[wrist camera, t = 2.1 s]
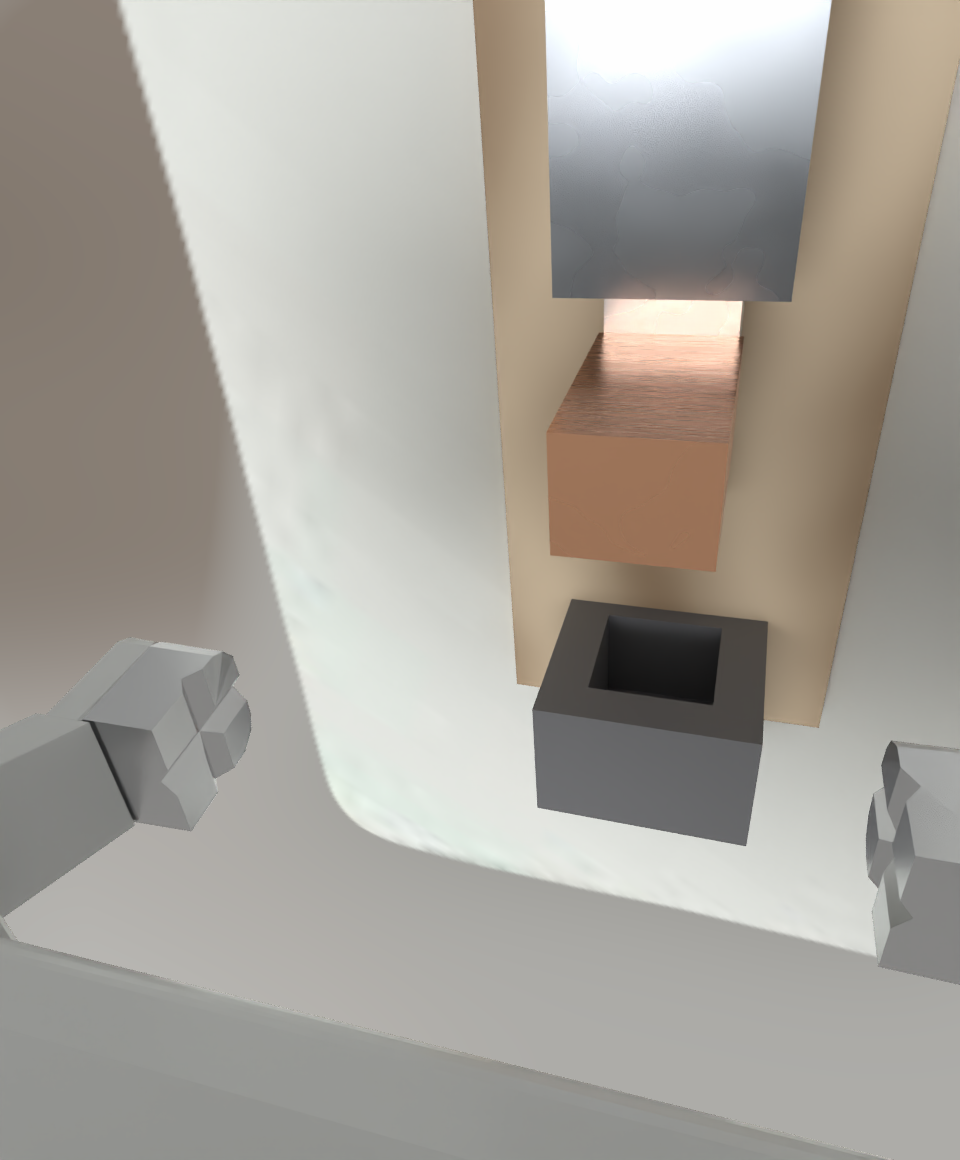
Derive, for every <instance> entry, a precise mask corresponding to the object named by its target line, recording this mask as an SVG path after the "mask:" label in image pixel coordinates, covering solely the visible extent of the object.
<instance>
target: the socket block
mask: <svg viewBox="0 0 960 1160" xmlns="http://www.w3.org/2000/svg"><path fill="white" fill-rule="evenodd" d="M767 634H768V622H767V621H759V620H750V619H741V618H733V617H724V616H715V615H707V614H698V613H689V612H681V611H672V610H663V609H655V608H646V607H637V606H628V605H620V604H611V603H602V602H594V601H585V600H576V599H571V602H570V605H569V607H568V610H567V613H566V616H565V619H564V622H563V624H562V627H561V630H560V633H559V636H558V639H557V642H556V644H555V647H554V650H553V653H552V656H551V659H550V661H549V664H548V667H547V670H546V673H545V676H544V678H543V681H542V684H541V687H540V690H539V693H538V695H537V698H536V701H535V704H534V707H533V710H532V711H533V730H534V749H535V768H536V787H537V806H538V808H543V809H548V810H554V811H559V812H564V813H570V814H575V815H581V816H586V817H591V818H597V819H602V820H608V821H613V822H618V823H624V824H629V825H634V826H640V827H645V828H651V829H656V830H661V831H667V832H672V833H678V834H683V835H688V836H694V837H699V838H704V839H710V840H715V841H721V842H726V843H731V844H737V845H742V846H746V843H747V837H748V831H749V825H750V819H751V812H752V806H753V800H754V794H755V788H756V781H757V775H758V769H759V763H760V757H761V751H762V743H763V721H764V699H765V677H766V656H767Z"/></svg>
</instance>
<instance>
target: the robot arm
mask: <svg viewBox="0 0 960 1160" xmlns="http://www.w3.org/2000/svg"><path fill="white" fill-rule="evenodd" d="M238 677H239V672H238V670H237V667H236V664H235V661H234V658H233V656H232V655H229V654H227V653H225V652H222V651H215V650H210V649H204V648H197V647H191V646H184V645H179V644H172V643H166V642H154V641H148V640H143V639H136V638H131V637H130V638H127V639H124V640H121V641H118V642H117V643H116V644H115V645H114V646H113V647H112V648H111V649H110V650H109V651H108V652H107V653H106V654H105V655H104V656H103V657H102V658H101V659H100V660H99V661H98V662H97V664H95V665H94V666H93V667H92V668H91V669H90V670H89V672H87V673H86V675H85V676H84V677H83V678H82V679H81V680H80V681H79V682H78V683H77V684H76V685H75V686H74V687H73V688H72V689H71V690H70V691H69V692H68V693H67V694H66V695H65V696H64V697H63V698H62V699H61V700H60V701H59V702H58V703H57V704H56V705H55V706H54V707H53V708H52V709H51V710H50V711H49V712H48V713H47V714H46V715H42V714H34V715H32V716H30V717H27V718H25V719H23V720H21V721H18V722H17V723H14V724H12V725H10V726H8V727H6V728H3V729H1V730H0V1160H892V1159H888V1158H884V1157H880V1156H876V1155H872V1154H868V1153H864V1152H860V1151H856V1150H852V1149H848V1148H844V1147H840V1146H836V1145H832V1144H828V1143H824V1142H820V1141H816V1140H812V1139H808V1138H804V1137H800V1136H796V1135H792V1134H788V1133H784V1132H780V1131H776V1130H772V1129H768V1128H764V1127H760V1126H756V1125H752V1124H748V1123H744V1122H740V1121H736V1120H732V1119H728V1118H724V1117H720V1116H716V1115H712V1114H708V1113H704V1112H700V1111H696V1110H692V1109H688V1108H684V1107H680V1106H676V1105H672V1104H668V1103H664V1102H660V1101H656V1100H652V1099H648V1098H644V1097H640V1096H636V1095H632V1094H627V1093H624V1092H620V1091H616V1090H612V1089H607V1088H604V1087H600V1086H596V1085H592V1084H588V1083H584V1082H580V1081H576V1080H572V1079H568V1078H564V1077H560V1076H556V1075H552V1074H548V1073H544V1072H540V1071H536V1070H532V1069H528V1068H524V1067H520V1066H516V1065H511V1064H508V1063H504V1062H500V1061H496V1060H492V1059H488V1058H483V1057H480V1056H475V1055H472V1054H468V1053H464V1052H460V1051H456V1050H452V1049H447V1048H444V1047H440V1046H436V1045H432V1044H428V1043H424V1042H420V1041H416V1040H412V1039H408V1038H404V1037H399V1036H395V1035H391V1034H387V1033H383V1032H379V1031H375V1030H371V1029H367V1028H363V1027H359V1026H355V1025H351V1024H347V1023H343V1022H339V1021H335V1020H331V1019H327V1018H323V1017H319V1016H315V1015H311V1014H307V1013H303V1012H298V1011H294V1010H291V1009H287V1008H283V1007H279V1006H275V1005H271V1004H266V1003H263V1002H259V1001H255V1000H251V999H246V998H242V997H238V996H234V995H230V994H226V993H222V992H218V991H214V990H210V989H206V988H202V987H198V986H194V985H190V984H186V983H182V982H178V981H174V980H170V979H166V978H162V977H158V976H154V975H150V974H146V973H142V972H138V971H134V970H130V969H126V968H122V967H118V966H114V965H110V964H106V963H102V962H98V961H94V960H90V959H86V958H82V957H78V956H74V955H70V954H66V953H62V952H58V951H54V950H50V949H46V948H42V947H38V946H34V945H30V944H26V943H22V942H18V940H17V939H16V937H15V936H14V934H13V932H12V931H11V929H10V928H9V926H8V925H7V923H6V922H5V920H4V918H3V917H5V916H6V915H7V914H9V913H10V912H12V911H13V910H14V909H16V908H17V907H19V906H20V905H22V904H23V903H25V902H26V901H27V900H29V899H30V898H32V897H33V896H35V895H36V894H37V893H39V892H40V891H42V890H43V889H45V888H46V887H47V886H49V885H50V884H52V883H53V882H54V881H56V880H57V879H59V878H60V877H62V876H63V875H65V874H66V873H67V872H69V871H70V870H72V869H73V868H74V867H76V866H77V865H78V864H80V863H82V862H83V861H85V860H86V859H87V858H89V857H90V856H92V855H93V854H94V853H96V852H97V851H99V850H100V849H102V848H103V847H105V846H106V845H107V844H109V843H110V842H112V841H113V840H115V839H116V838H118V837H119V836H120V835H122V834H123V833H125V832H126V831H128V830H129V829H130V828H132V827H133V826H134V825H135V823H134V822H139V823H144V824H150V825H156V826H162V827H168V828H175V829H181V830H187V831H192V830H193V828H194V826H195V825H196V824H197V822H198V821H199V819H200V818H201V816H202V815H203V814H204V812H205V811H206V809H207V808H208V806H209V805H210V803H211V802H212V800H213V799H214V797H215V796H216V794H217V793H218V792H217V783H216V778H217V777H219V776H221V775H222V774H224V773H226V772H228V771H229V770H231V769H233V768H235V766H236V764H237V763H238V761H239V760H240V758H241V757H242V755H243V753H244V752H245V749H246V746H247V743H248V739H249V736H250V732H251V713H250V709H249V706H248V702H247V700H246V699H245V698H244V697H243V696H242V695H241V694H240V693H239V692H238V691H237V689H235V687H233V685H234V683H235V682H236V680H237V678H238ZM881 766H882V774H883V782H884V787H883V788H882V789H880V790H878V791H877V792H875V793H874V794H873V798H872V802H871V807H870V811H869V815H868V824H867V833H866V859H867V870H868V877H869V878H870V879H871V881H872V882H873V883H874V884H875V885H876V886H877V888H878V892H877V896H876V899H875V903H874V906H873V909H872V918H873V926H874V935H875V944H876V952H877V960H878V967H882V968H887V969H891V970H896V971H900V972H905V973H909V974H914V975H918V976H923V977H928V978H932V979H937V980H941V981H945V982H950V983H954V984H959V985H960V749H955V748H947V747H939V746H931V745H923V744H915V743H907V742H899V741H891V742H890V744H889V745H888V747H887V749H886V752H885V755H884V758H883V762H882V765H881Z"/></svg>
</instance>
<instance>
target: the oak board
mask: <svg viewBox="0 0 960 1160" xmlns="http://www.w3.org/2000/svg"><path fill="white" fill-rule="evenodd" d="M473 10H474V25H475V41H476V56H477V72H478V87H479V102H480V118H481V133H482V149H483V164H484V180H485V195H486V211H487V226H488V242H489V257H490V272H491V288H492V303H493V319H494V334H495V350H496V365H497V381H498V396H499V412H500V427H501V442H502V458H503V473H504V489H505V504H506V520H507V535H508V551H509V566H510V582H511V597H512V612H513V628H514V643H515V659H516V674H517V684H522V685H528V686H535V687H541V684H542V681H543V678H544V676H545V673H546V670H547V667H548V664H549V661H550V659H551V656H552V653H553V650H554V647H555V644H556V642H557V639H558V636H559V633H560V630H561V627H562V624H563V622H564V619H565V616H566V613H567V610H568V607H569V605H570V602H571V599H576V600H585V601H594V602H602V603H611V604H620V605H628V606H637V607H646V608H655V609H663V610H672V611H681V612H689V613H698V614H707V615H715V616H724V617H733V618H741V619H750V620H759V621H767V622H768V634H767V656H766V677H765V699H764V720H769V721H776V722H782V723H789V724H796V725H803V726H810V727H817V728H819V724H820V719H821V714H822V710H823V705H824V700H825V695H826V691H827V686H828V681H829V676H830V672H831V667H832V662H833V658H834V653H835V648H836V643H837V639H838V634H839V629H840V624H841V620H842V615H843V610H844V605H845V601H846V596H847V591H848V586H849V582H850V577H851V572H852V567H853V563H854V558H855V553H856V548H857V544H858V539H859V534H860V529H861V525H862V520H863V515H864V511H865V506H866V501H867V496H868V492H869V487H870V482H871V477H872V473H873V468H874V463H875V458H876V454H877V449H878V444H879V439H880V435H881V430H882V425H883V420H884V416H885V411H886V406H887V401H888V397H889V392H890V387H891V382H892V378H893V373H894V368H895V364H896V359H897V354H898V349H899V345H900V340H901V335H902V330H903V326H904V321H905V316H906V311H907V307H908V302H909V297H910V292H911V288H912V283H913V278H914V273H915V269H916V264H917V259H918V254H919V250H920V245H921V240H922V235H923V231H924V226H925V221H926V217H927V212H928V207H929V202H930V198H931V193H932V188H933V183H934V179H935V174H936V169H937V164H938V160H939V155H940V150H941V145H942V141H943V136H944V131H945V126H946V122H947V117H948V112H949V107H950V103H951V98H952V93H953V88H954V84H955V79H956V74H957V70H958V65H959V60H960V0H832V2H831V9H830V17H829V24H828V32H827V39H826V47H825V54H824V62H823V69H822V77H821V84H820V92H819V99H818V107H817V114H816V122H815V129H814V137H813V144H812V152H811V159H810V167H809V174H808V182H807V189H806V197H805V204H804V212H803V219H802V227H801V234H800V242H799V249H798V257H797V264H796V272H795V279H794V287H793V294H792V302H765V301H745V305H744V315H743V325H742V335H741V336H744V343H743V352H742V362H741V371H740V381H739V390H738V400H737V410H736V419H735V429H734V438H733V448H732V455H731V462H730V470H729V477H728V485H727V492H726V500H725V507H724V515H723V522H722V529H721V537H720V544H719V552H718V559H717V567H716V572H709V571H700V570H690V569H680V568H670V567H660V566H650V565H641V564H631V563H621V562H611V561H601V560H591V559H582V558H572V557H562V556H552V555H550V537H549V505H548V474H547V443H546V432H547V430H548V428H549V426H550V424H551V423H552V421H553V419H554V417H555V415H556V413H557V411H558V409H559V407H560V405H561V404H562V402H563V400H564V398H565V396H566V394H567V392H568V390H569V388H570V387H571V385H572V383H573V381H574V379H575V377H576V375H577V373H578V371H579V370H580V368H581V366H582V364H583V362H584V360H585V358H586V356H587V354H588V352H589V351H590V349H591V347H592V345H593V343H594V341H595V339H596V337H597V335H598V334H599V332H604V299H585V298H552V266H551V226H550V186H549V146H548V106H547V66H546V25H545V0H473Z"/></svg>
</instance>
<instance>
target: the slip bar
mask: <svg viewBox="0 0 960 1160" xmlns="http://www.w3.org/2000/svg"><path fill="white" fill-rule="evenodd" d="M744 305H745V301H705V300H645V299H604V332H599V334H598V335H597V337H596V339H595V341H594V343H593V345H592V347H591V349H590V351H589V352H588V354H587V356H586V358H585V360H584V362H583V364H582V366H581V368H580V370H579V371H578V373H577V375H576V377H575V379H574V381H573V383H572V385H571V387H570V388H569V390H568V392H567V394H566V396H565V398H564V400H563V402H562V404H561V405H560V407H559V409H558V411H557V413H556V415H555V417H554V419H553V421H552V423H551V424H550V426H549V428H548V430H547V432H546V443H547V474H548V505H549V537H550V555H552V556H562V557H572V558H582V559H591V560H601V561H611V562H621V563H631V564H641V565H650V566H660V567H670V568H680V569H690V570H700V571H709V572H716V567H717V559H718V552H719V544H720V537H721V529H722V522H723V515H724V507H725V500H726V492H727V485H728V477H729V470H730V462H731V455H732V448H733V438H734V429H735V419H736V410H737V400H738V390H739V381H740V371H741V362H742V352H743V343H744V336H741V335H742V325H743V315H744Z"/></svg>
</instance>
